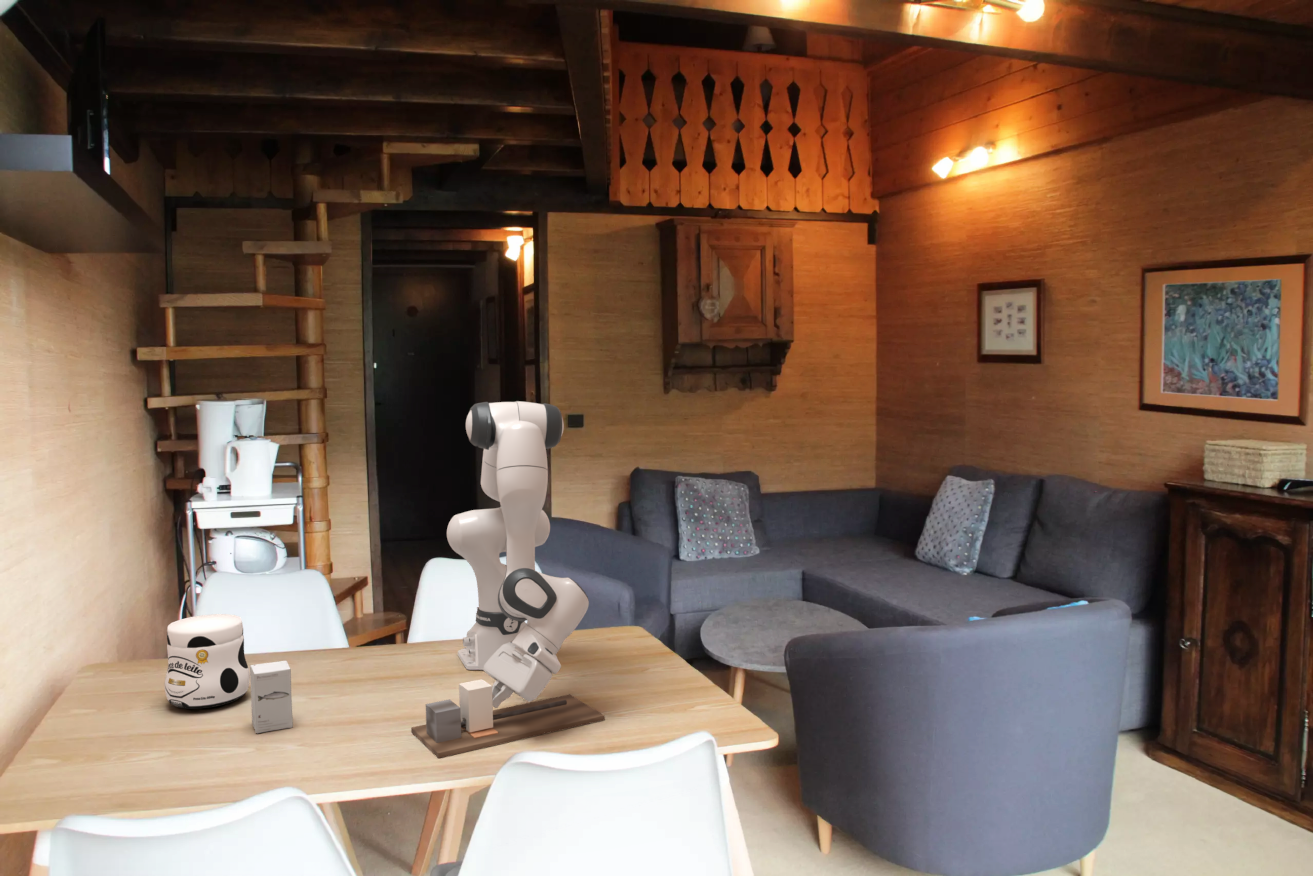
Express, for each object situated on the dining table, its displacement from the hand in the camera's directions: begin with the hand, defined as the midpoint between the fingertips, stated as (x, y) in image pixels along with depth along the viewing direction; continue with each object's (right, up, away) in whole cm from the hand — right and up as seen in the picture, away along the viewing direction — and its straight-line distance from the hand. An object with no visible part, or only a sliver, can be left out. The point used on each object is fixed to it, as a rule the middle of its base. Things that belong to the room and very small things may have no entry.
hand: (490, 704), depth 200 cm
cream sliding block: (-3, -4, -1) cm, 5 cm away
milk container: (-66, -5, +20) cm, 70 cm away
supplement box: (-46, -6, +5) cm, 47 cm away
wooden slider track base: (+3, -5, +3) cm, 7 cm away
